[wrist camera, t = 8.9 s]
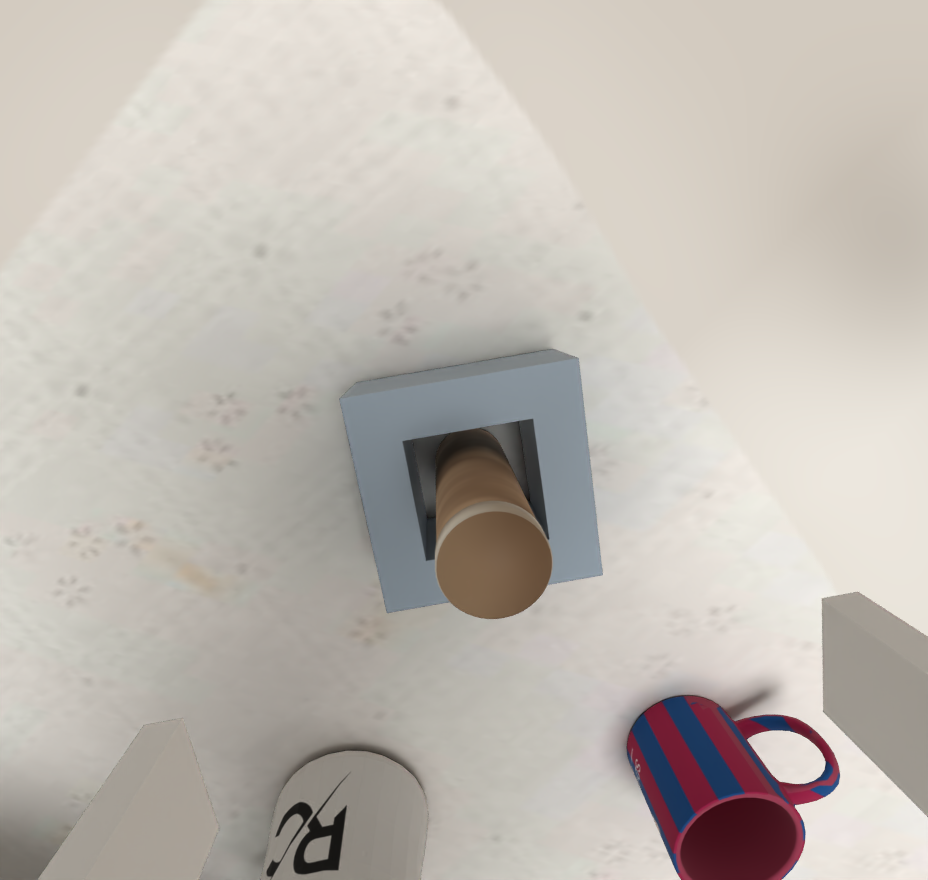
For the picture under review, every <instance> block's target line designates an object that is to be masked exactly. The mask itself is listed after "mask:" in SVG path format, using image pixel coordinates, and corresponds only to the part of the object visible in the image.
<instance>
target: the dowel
mask: <svg viewBox="0 0 928 880" xmlns="http://www.w3.org/2000/svg"><path fill="white" fill-rule="evenodd" d="M552 569H553V555H552V550H551V547H550V544H549V541H548V539H547V537H546V535H545V533H544V531H543V529H542V528H541V526H540V524H539V523H538V521H537V520H536V518H535V516H534V514H533V512H532V510H531V508H530V506H529V504H528V501H527V499H526V497H525V495H524V493H523V491H522V489H521V487H520V485H519V483H518V481H517V479H516V476H515V474H514V472H513V470H512V468H511V466H510V464H509V462H508V460H507V458H506V456H505V454H504V451H503V449H502V447H501V445H500V444H499V442H498V441H497V439H496V438H495V437H494V436H493V435H491V434H490V433H488V432H487V431H484V430H482V429H479V428H475V429H469V430H463V431H458V432H452V433H451V434H449V435H448V436H447V437H446V438H445V439H444V440H443V441H442V442H441V444H440V446H439V448H438V450H437V453H436V548H435V574H436V579H437V582H438V585H439V587H440V589H441V591H442V593H443V594H444V596H445V597H446V598H447V599H448V601H449V602H450V603H452V604H453V605H454V606H455V607H456V608H458V609H459V610H461V611H463V612H465V613H467V614H469V615H472V616H475V617H479V618H485V619H499V618H505V617H509V616H512V615H515V614H518V613H520V612H522V611H524V610H525V609H527V608H528V607H530V606H531V605H532V604H533V603H534V602H536V600H537V599H538V598H539V597H540V596H541V595H542V593H543V592H544V590H545V589H546V587H547V585H548V583H549V580H550V578H551V574H552Z"/></svg>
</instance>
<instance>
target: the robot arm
mask: <svg viewBox="0 0 928 880" xmlns="http://www.w3.org/2000/svg"><path fill="white" fill-rule="evenodd" d="M822 650H823V712H824V713H825V714H826V715H827V716H828V717H829V718H830V719H831V720H832V721H833V722H834V723H835V724H836V725H837V726H838V727H839V728H840V729H841V730H842V731H843V732H844V733H845V734H846V735H847V736H848V737H849V738H850V739H851V740H852V741H853V742H854V743H855V744H856V745H857V746H858V747H859V748H860V749H861V750H862V751H863V752H864V753H865V754H866V755H867V756H868V757H869V758H870V759H871V760H872V761H873V762H874V763H875V764H876V765H877V766H878V767H879V768H880V769H881V770H882V771H883V772H884V773H885V774H886V775H887V776H888V777H889V778H890V779H891V780H892V781H893V782H894V783H895V784H896V785H897V786H898V787H899V788H900V789H901V790H902V791H903V792H904V793H905V794H906V795H907V796H908V797H909V798H910V799H911V800H912V802H913V803H914V804H915V805H916V806H917V807H918V808H919V809H920V810H921V811H922V812H923V813H924V814H925V815H926V816H927V817H928V636H926V635H924V634H923V633H921V632H920V631H918V630H917V629H915V628H914V627H912V626H910V625H909V624H907V623H906V622H904V621H903V620H901V619H900V618H898V617H896V616H895V615H893V614H892V613H890V612H889V611H887V610H886V609H884V608H883V607H881V606H879V605H877V604H876V603H875V602H873V601H871V600H870V599H869V598H867V597H865V596H864V595H862V594H861V593H859V592H854V593H848V594H843V595H838V596H832V597H827V598H822ZM218 831H219V825H218V822H217V819H216V816H215V813H214V810H213V807H212V804H211V801H210V798H209V795H208V792H207V789H206V786H205V783H204V780H203V777H202V774H201V771H200V768H199V765H198V762H197V759H196V756H195V754H194V751H193V748H192V745H191V742H190V739H189V736H188V733H187V730H186V727H185V724H184V721H183V718H180V719H174V720H169V721H163V722H158V723H153V724H147V725H144V726H143V727H142V729H141V730H140V732H139V733H138V735H137V736H136V738H135V739H134V740H133V742H132V743H131V745H130V746H129V748H128V749H127V751H126V752H125V753H124V755H123V756H122V758H121V759H120V761H119V762H118V764H117V765H116V767H115V768H114V769H113V771H112V772H111V774H110V775H109V777H108V778H107V780H106V781H105V782H104V784H103V785H102V787H101V788H100V790H99V791H98V793H97V794H96V795H95V797H94V798H93V800H92V801H91V803H90V804H89V806H88V807H87V809H86V810H85V811H84V813H83V814H82V816H81V817H80V819H79V820H78V822H77V823H76V824H75V826H74V827H73V829H72V830H71V832H70V833H69V835H68V836H67V838H66V839H65V840H64V842H63V843H62V845H61V846H60V848H59V849H58V851H57V852H56V853H55V855H54V856H53V858H52V859H51V861H50V862H49V864H48V865H47V867H46V868H45V869H44V871H43V872H42V874H41V875H40V877H39V878H38V880H199V878H200V875H201V873H202V870H203V868H204V865H205V863H206V860H207V858H208V856H209V853H210V851H211V848H212V846H213V843H214V841H215V838H216V836H217V833H218Z"/></svg>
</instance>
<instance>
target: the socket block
mask: <svg viewBox="0 0 928 880" xmlns="http://www.w3.org/2000/svg"><path fill="white" fill-rule="evenodd" d="M339 400H340V404H341V409H342V413H343V418H344V422H345V427H346V431H347V436H348V440H349V445H350V449H351V454H352V458H353V463H354V467H355V472H356V476H357V481H358V485H359V490H360V494H361V499H362V503H363V508H364V512H365V517H366V521H367V526H368V530H369V535H370V539H371V544H372V548H373V553H374V557H375V562H376V566H377V571H378V575H379V580H380V584H381V589H382V593H383V598H384V602H385V607H386V611H387V613H391V612H396V611H402V610H408V609H413V608H419V607H425V606H430V605H436V604H442V603H447V602H449V601H448V599H447V598H446V597H445V596H444V594H443V593H442V591H441V589H440V587H439V585H438V582H437V579H436V574H435V548H436V518H430V519H427V515H426V509H425V504H424V499H423V494H422V489H421V484H420V478H419V473H418V468H417V463H416V458H415V452H414V447H413V442H412V439H417V438H423V437H429V436H434V435H440V434H446V433H452V432H458V431H463V430H469V429H475V428H481V427H487V426H493V425H498V424H504V423H510V422H516V421H519V425H520V432H521V439H522V446H523V453H524V460H525V467H526V474H527V481H528V488H529V495H530V501H528V504H529V506H530V508H531V510H532V512H533V514H534V516H535V518H536V520H537V521H538V523H539V524H540V526H541V528H542V529H543V531H544V533H545V535H546V537H547V539H548V541H549V544H550V547H551V550H552V555H553V569H552V574H551V578H550V580H549V583H548V585H550V584H555V583H561V582H567V581H572V580H578V579H584V578H589V577H595V576H601V575H603V573H602V564H601V555H600V546H599V537H598V528H597V519H596V510H595V501H594V492H593V483H592V474H591V465H590V456H589V447H588V438H587V429H586V420H585V411H584V402H583V393H582V384H581V375H580V367H579V358H577V357H574V356H571V355H568V354H566V353H563V352H560V351H557V350H554V349H550V350H544V351H538V352H533V353H527V354H521V355H515V356H509V357H503V358H497V359H491V360H486V361H480V362H474V363H468V364H462V365H456V366H450V367H444V368H439V369H433V370H427V371H421V372H415V373H409V374H403V375H398V376H392V377H386V378H380V379H374V380H368V381H362V382H356V383H355V384H354V385H353V386H352V387H351V388H350V389H349V390H348V391H347V392H346V393H345V394H344V395H343V396H342V397H341V398H340V399H339Z"/></svg>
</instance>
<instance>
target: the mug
mask: <svg viewBox="0 0 928 880" xmlns="http://www.w3.org/2000/svg"><path fill="white" fill-rule="evenodd" d="M427 826H428V808H427V804H426V799H425V795H424V791H423V790H422V788H421V786H420V785H419V783H418V781H417V780H416V778H415V777H414V776H413V775H412V774H411V773H410V772H409V771H407V770H406V769H405V768H404V767H403V766H402V765H400V764H398V763H396V762H394V761H393V760H391V759H389V758H387V757H385V756H383V755H379V754H375V753H371V752H367V751H343V752H337V753H332V754H328V755H325V756H322V757H320V758H318V759H316V760H313V761H311V762H309V763H307V764H306V765H305V766H303V767H302V768H301V769H299V770H298V771H297V772H296V773H294V774H293V776H292V777H291V778H290V780H289V781H288V782H287V784H286V785H285V786H284V788H283V789H282V791H281V793H280V795H279V798H278V801H277V804H276V807H275V810H274V814H273V818H272V823H271V828H270V834H269V840H268V846H267V851H266V857H265V862H264V866H263V870H262V873H261V877H260V880H421V873H422V866H423V859H424V852H425V845H426V836H427Z"/></svg>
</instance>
